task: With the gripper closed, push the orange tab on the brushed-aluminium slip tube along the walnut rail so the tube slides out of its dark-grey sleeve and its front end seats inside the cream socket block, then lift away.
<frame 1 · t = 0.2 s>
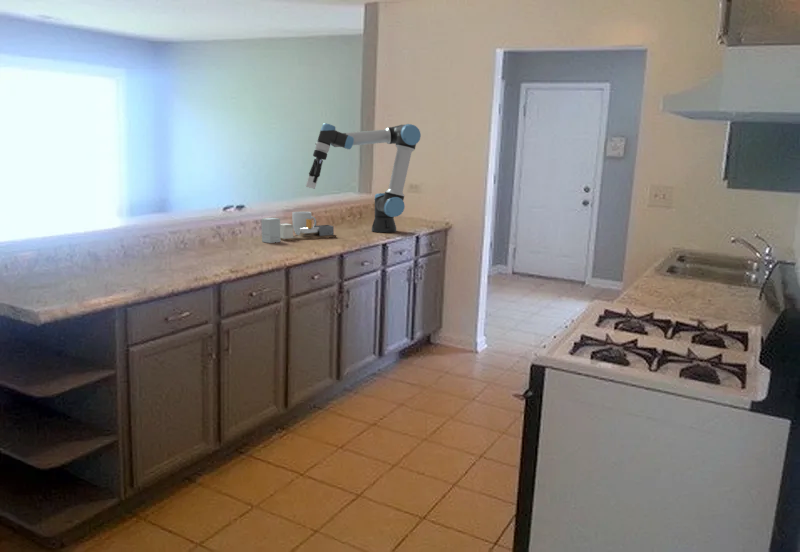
hand: (310, 187, 378), 28 cm above the worktop, tool tilted 20°, fingers open, 13 cm apart
sleeve: (323, 230, 383), on the rail board, point 4 cm above the worktop
rail board: (307, 238, 378), on the worktop
mug: (303, 235, 392), on the worktop
supplement box: (271, 242, 363), on the worktop
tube: (314, 226, 380), point 6 cm above the worktop, slide at 0.0 cm
socket: (285, 231, 370), on the rail board, point 5 cm above the worktop
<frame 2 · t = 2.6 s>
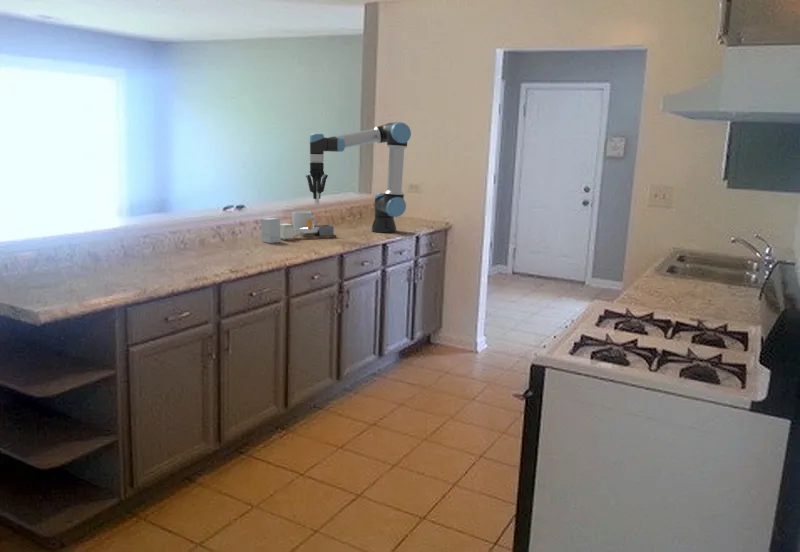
hand: (316, 204, 378), 18 cm above the worktop, tool pointing down, fingers closed
nothing on the worktop moved.
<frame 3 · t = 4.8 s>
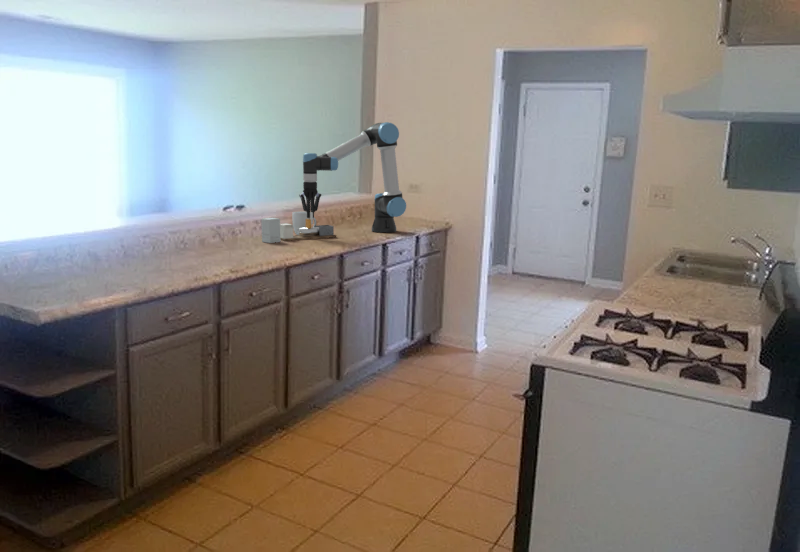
hand: (310, 223, 378), 8 cm above the worktop, tool pointing down, fingers closed
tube: (313, 226, 380), point 6 cm above the worktop, slide at 0.4 cm, touching gripper
everything else where it was.
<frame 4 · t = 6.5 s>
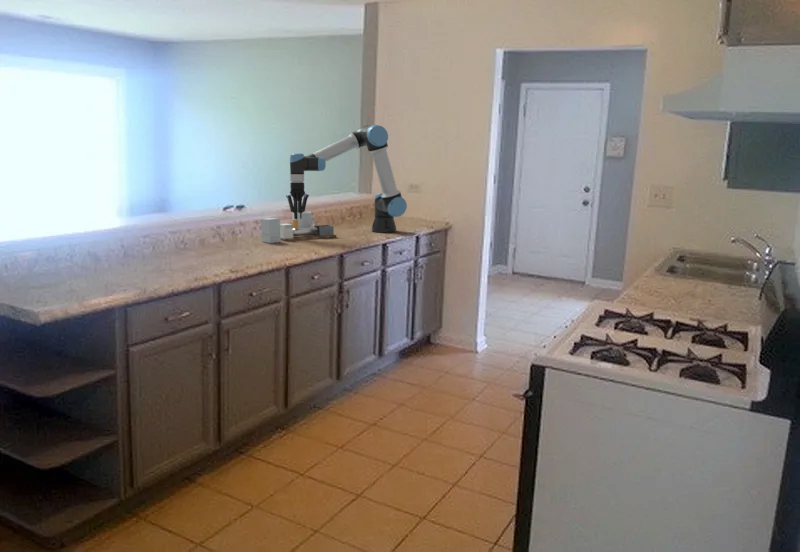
hand: (298, 224, 374), 8 cm above the worktop, tool pointing down, fingers closed
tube: (301, 227, 375), point 6 cm above the worktop, slide at 8.2 cm, touching gripper
everything else where it was.
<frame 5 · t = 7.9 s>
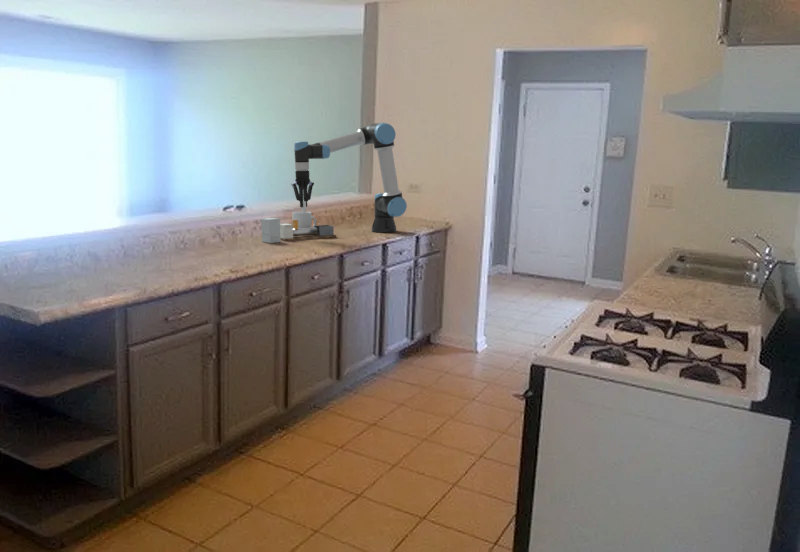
hand: (303, 213, 374), 14 cm above the worktop, tool pointing down, fingers closed
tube: (301, 227, 375), point 6 cm above the worktop, slide at 8.2 cm
everything else where it was.
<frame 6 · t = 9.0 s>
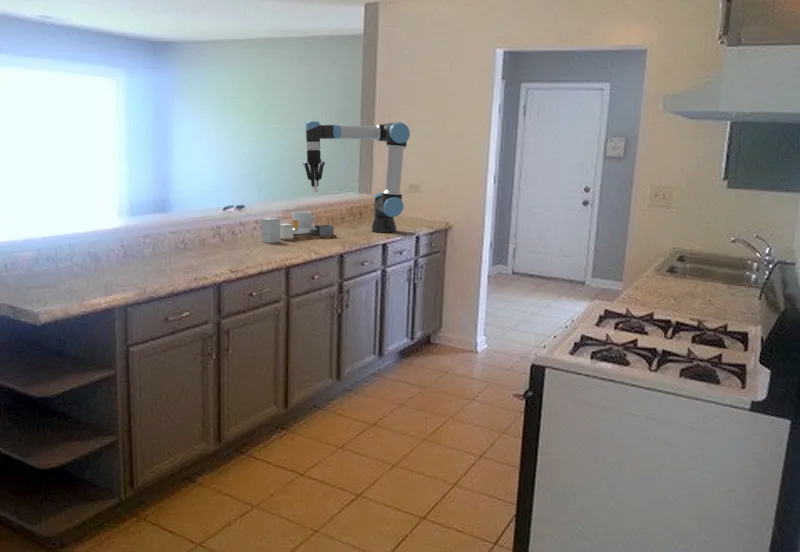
hand: (315, 192, 381), 25 cm above the worktop, tool pointing down, fingers closed
nothing on the worktop moved.
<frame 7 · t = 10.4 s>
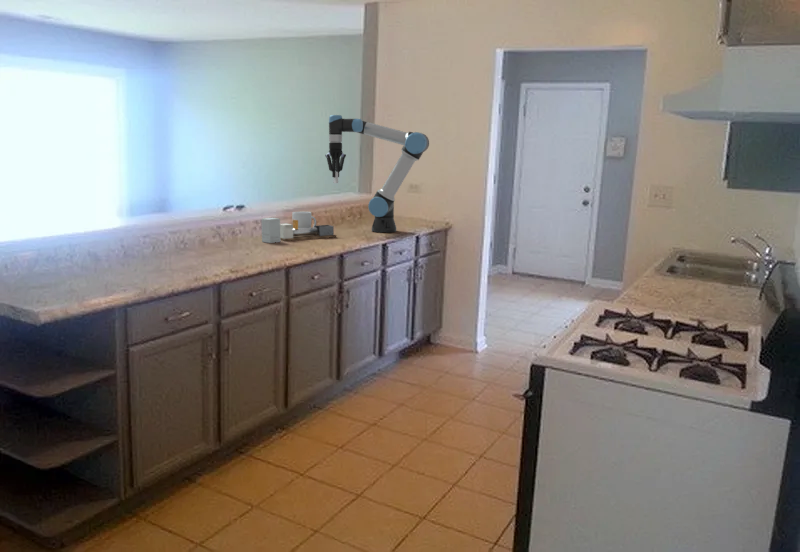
hand: (335, 182, 398), 29 cm above the worktop, tool pointing down, fingers closed
nothing on the worktop moved.
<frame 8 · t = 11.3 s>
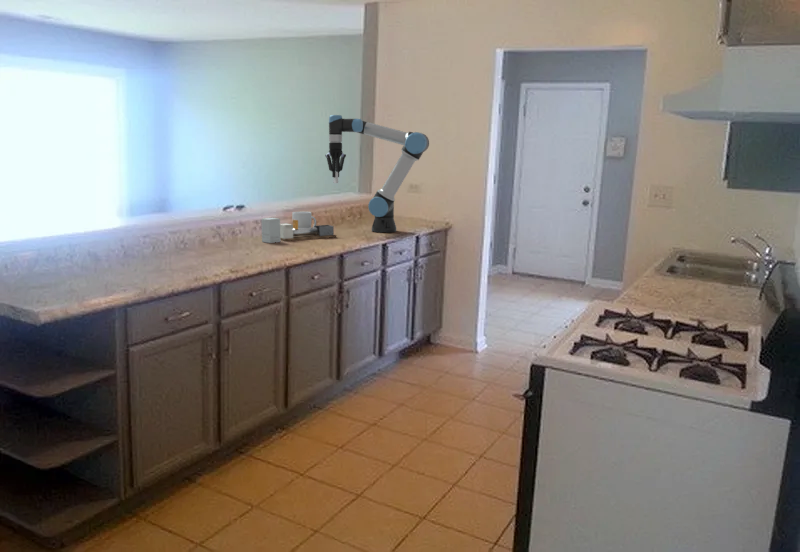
hand: (335, 182, 398), 29 cm above the worktop, tool pointing down, fingers closed
nothing on the worktop moved.
at the end: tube slide at 8.2 cm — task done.
